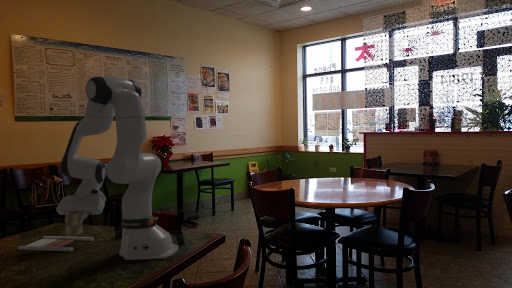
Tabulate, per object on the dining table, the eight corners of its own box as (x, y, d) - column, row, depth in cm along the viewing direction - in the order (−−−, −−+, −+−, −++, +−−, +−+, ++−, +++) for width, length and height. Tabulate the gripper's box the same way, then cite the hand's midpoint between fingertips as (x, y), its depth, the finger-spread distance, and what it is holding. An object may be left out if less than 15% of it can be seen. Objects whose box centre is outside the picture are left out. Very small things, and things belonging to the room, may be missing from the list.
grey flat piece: (93, 239, 160) (93, 237, 160) (71, 251, 145) (71, 248, 145) (44, 238, 164) (44, 236, 164) (18, 249, 149) (18, 246, 149)
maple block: (82, 231, 155) (81, 212, 155) (76, 234, 150) (75, 214, 150) (73, 231, 156) (72, 212, 155) (66, 234, 151) (65, 214, 151)
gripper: (61, 191, 161) (46, 218, 152) (103, 190, 158) (91, 218, 148) (68, 199, 165) (54, 226, 156) (109, 199, 162) (98, 226, 153)
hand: (73, 222), depth 152 cm, fingers closed on maple block, 4 cm apart
